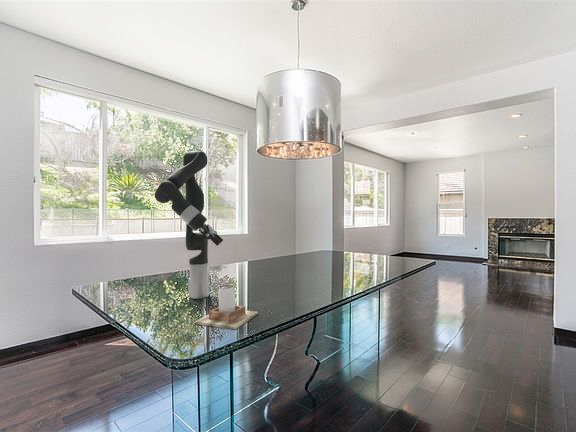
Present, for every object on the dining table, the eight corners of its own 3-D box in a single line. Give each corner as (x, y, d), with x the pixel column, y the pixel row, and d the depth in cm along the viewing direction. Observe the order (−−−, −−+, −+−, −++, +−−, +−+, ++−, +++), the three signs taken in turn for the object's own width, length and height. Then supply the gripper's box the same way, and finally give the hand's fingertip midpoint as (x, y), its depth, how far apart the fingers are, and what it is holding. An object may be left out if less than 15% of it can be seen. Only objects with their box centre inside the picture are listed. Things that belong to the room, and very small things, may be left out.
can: (220, 314, 126) (219, 285, 126) (236, 313, 126) (235, 284, 126) (218, 319, 119) (217, 288, 119) (234, 318, 120) (234, 287, 120)
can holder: (194, 324, 118) (194, 313, 118) (221, 310, 134) (221, 301, 134) (235, 329, 111) (235, 318, 111) (257, 314, 128) (257, 304, 128)
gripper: (196, 212, 128) (224, 238, 129) (202, 211, 142) (228, 235, 143) (183, 225, 128) (212, 251, 129) (191, 223, 142) (216, 246, 143)
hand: (220, 242), depth 136 cm, fingers open, 8 cm apart
